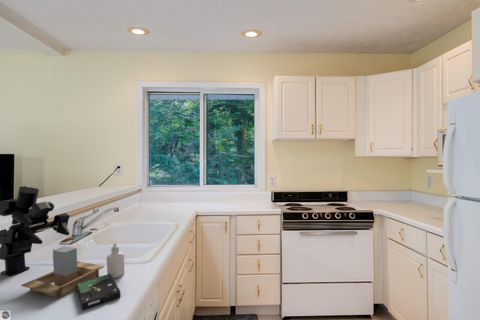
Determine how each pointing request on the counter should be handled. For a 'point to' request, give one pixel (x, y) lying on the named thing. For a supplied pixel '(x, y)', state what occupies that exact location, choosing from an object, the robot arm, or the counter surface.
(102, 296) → the disk drive
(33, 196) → the robot arm
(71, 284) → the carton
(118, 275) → the eye dropper bottle
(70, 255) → the box
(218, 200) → the counter surface
